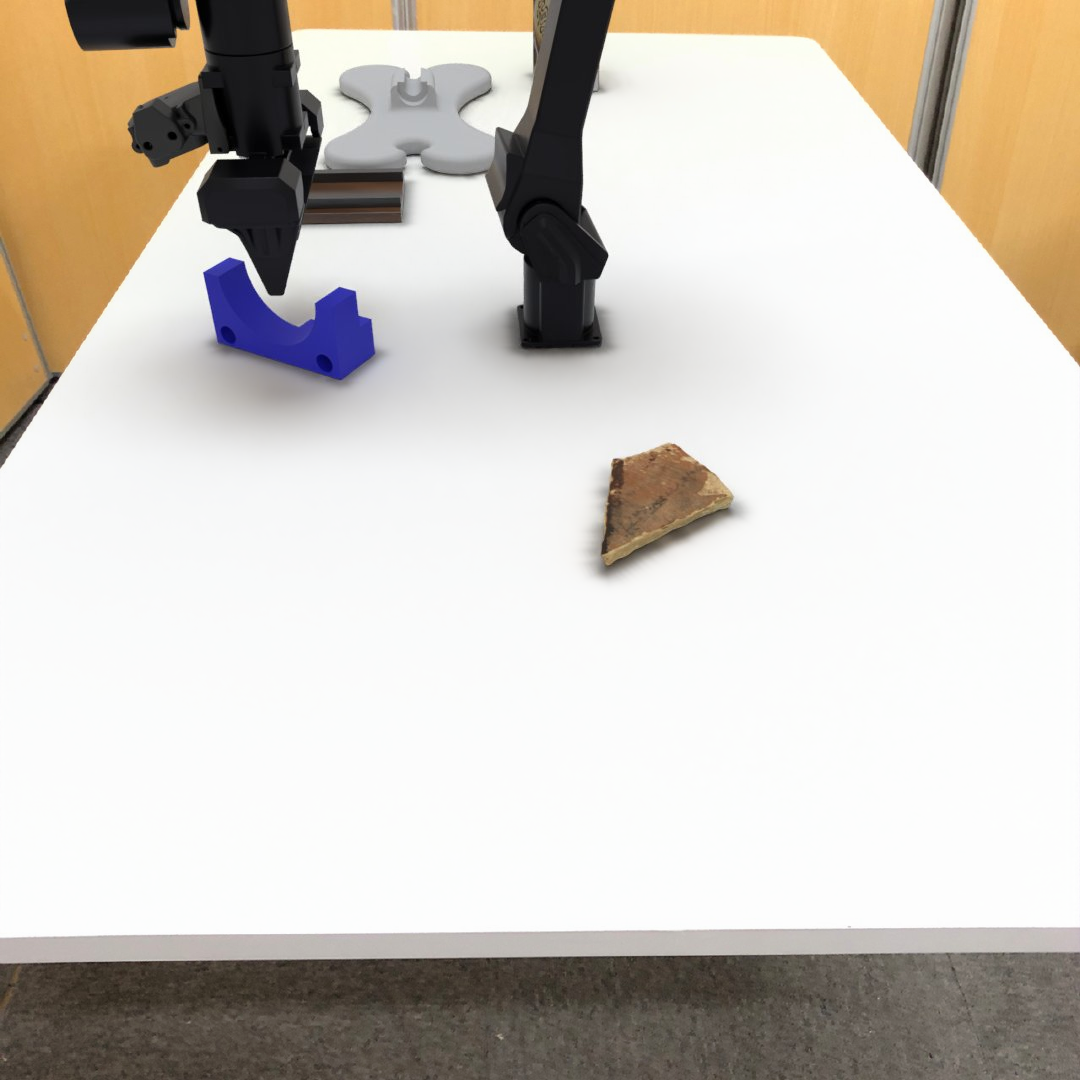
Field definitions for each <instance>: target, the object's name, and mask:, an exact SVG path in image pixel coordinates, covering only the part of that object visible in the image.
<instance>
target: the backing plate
mask: <svg viewBox="0 0 1080 1080" xmlns="http://www.w3.org/2000/svg"><path fill="white" fill-rule="evenodd" d="M405 177H406V176H405V172H404V167H402V168H384V169H331V168H329V169H315V172H314V176H313V180H312V184H311V189H310V193H309V196H308V201H307V205H306V209H305V213H304V218H303V222H302V225H304V224H305V225H307V224H308V225H309V224H353V223H354V224H356V223H357V224H358V223H359V224H360V223H361V224H362V223H400V222H403V210H404V209H403V208H404V198H405V187H406V186H405V185H406V178H405Z"/></svg>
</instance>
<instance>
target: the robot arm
mask: <svg viewBox="0 0 1080 1080" xmlns="http://www.w3.org/2000/svg"><path fill="white" fill-rule="evenodd" d="M194 1H195V6H196V12H197V17H198V23H199V28H200V33H201V34H200V35H201V40H202V44H203V51H204V56H205V62H206V63H205V65H204V67H203V68H202V70H201V71H199V74H198V75H197V81H194V82H193V81H192V82H190V83H188V84H185V85H183V86H180V87H178V88H176V89H174V90H170V91H169V92H166V93H164V94H161V95H159V96H156V97H154V98H151V99H149V100H148V101H145V102H144V103H142V104H139V105H137V106H136V108H135V109H134V110H133V112H132V116H131V117H130V119H129V120H128V122H127V131H128V133H129V134H130V137H131V140H132V141H131V149H132V150H133V151H134V152H135V153H137V154H138V155H139V154H144V156H145V157H146V158H147V159H148V161H149V163H150V164H151V166H152V167H153V168H155V169H156V168H161V167H163V166H167V165H168V164H169V163H170V162H171V160H172V159H175V158H177V157H180V156H182V155H185V154H187V153H190V152H192V151H194V150H197V149H199V148H202V147H204V146H205V145H207V144H208V150H209V154H210V155H229V154H230V152H235V156H237V157H238V158H219V159H218V158H217V159H216V160H215V161H214V162H213V164H212V165H211V166H210V167H209V169H207V170H206V172H205V173H204V176H203V179H202V181H201V182H200V185H199V187H198V189H197V191H196V198H197V203H198V207H199V212H200V217H201V222H203V223H206V224H208V225H212V226H213V227H215V228H216V229H220V230H227V231H228V232H230V233H232V234H234V235H235V236H236V237H238V239H239V240H240V242H241V244H242V245H243V247H244V249H245V251H246V253H247V255H248V257H249V259H250V261H251V262H252V265H253V267H254V268H255V271H256V273H257V275H258V277H259V279H260V281H261V283H262V285H263V287H264V289H265V292H266V293H267V294H268V296H269V297H282V296H284V295H285V293H286V289H287V285H288V280H289V275H290V271H291V267H292V264H293V263H292V262H293V258H294V254H295V251H296V246H297V241H298V240H299V238H300V235H301V230H302V226H303V224H302V222H303V218H304V213H305V209H306V205H307V201H308V196H309V193H310V189H311V184H312V180H313V176H314V172H315V170H316V167H317V164H318V159H319V154H320V150H321V146H322V143H323V137H322V135H323V132H324V129H325V124H324V116H323V115H324V114H323V107H322V101H321V100H320V99H319V98H318V97H317V96H315V95H314V94H313V93H312V92H310V90H309V89H300V84H299V77H298V74H299V71H300V68H301V66H302V63H301V55H300V50H299V49H294V42H293V33H292V26H291V25H292V24H291V19H290V11H289V3H288V0H194ZM63 2H64V7H65V11H66V15H67V18H68V19H67V20H68V22H69V26H70V29H71V32H72V34H73V36H74V39H75V41H76V43H77V45H78V47H79V48H80V50H82V52H101V51H127V50H130V51H131V50H154V49H155V50H157V49H175V48H176V47H177V39H178V30H179V31H190V29H191V15H190V14H191V13H190V6H189V5H190V4H189V0H63ZM615 2H616V0H550V4H549V8H548V13H547V18H546V22H545V27H544V32H543V36H542V41H541V46H540V50H539V55H538V60H537V64H536V69H535V74H533V79H532V83H531V88H530V93H529V97H528V102H527V106H526V109H525V111H524V113H523V115H522V117H521V119H520V120H519V122H518V123H517V125H516V126H515V129H514V130H513V131H511V130H508V129H505V128H503V127H500V126H497V127H495V131H494V137H495V151H494V158H493V161H492V164H491V167H490V168H489V169H488V170H486V172H485V174H484V179H485V181H486V185H487V187H488V191H489V194H490V197H491V200H492V204H493V206H494V209H495V211H496V212H497V216H498V219H499V222H500V224H501V225H500V226H501V228H502V232H503V234H504V237H505V239H506V240H507V241H508V243H509V244H510V246H511V247H512V248H513V249H515V251H517V252H518V253H520V254H522V255H523V270H522V271H523V303H522V304H518V305H517V306H516V313H517V314H516V315H517V323H518V324H517V325H518V334H519V344H520V346H521V347H522V348H527V349H528V348H529V349H530V348H560V347H561V348H562V347H563V348H565V347H567V348H568V347H596V346H601V345H602V344H603V335H602V331H601V327H600V326H601V325H600V322H599V318H598V313H597V308H596V305H595V304H596V303H595V302H596V280H599V279H600V278H601V276H602V274H603V271H604V270H605V269H604V268H605V267H606V264H607V261H608V259H609V252H608V251H607V249H606V246H605V244H604V242H603V240H602V237H601V236H600V233H599V232H598V230H597V228H596V225H595V224H594V222H593V219H592V217H591V215H590V213H589V211H588V209H587V208H586V206H584V205H583V193H584V162H583V161H584V159H583V157H584V156H583V152H584V151H583V150H584V149H583V134H584V127H585V123H586V119H587V117H588V116H587V115H588V111H589V107H590V104H591V99H592V96H593V92H594V91H593V88H594V84H595V80H596V76H597V72H598V68H599V69H600V64H601V59H602V55H603V52H604V48H605V44H606V39H607V36H608V31H609V27H610V23H611V18H612V14H613V12H614V6H615ZM309 129H310V133H311V134H307V133H308V131H309Z"/></svg>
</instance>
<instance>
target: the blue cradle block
mask: <svg viewBox="0 0 1080 1080" xmlns="http://www.w3.org/2000/svg"><path fill="white" fill-rule="evenodd" d="M202 274H203V279H204V284H205V289H206V293H207V298H208V299H207V300H208V303H209V307H210V313H211V317H212V321H213V326H214V327H213V328H214V331H215V335H216V336H215V337H216V340H217V343H218V344H222V345H225V346H229V347H231V348H234V349H238V350H241V351H244V352H248V353H251V354H254V355H258V356H261V357H264V358H267V359H270V360H274V361H278V362H281V363H284V364H288V365H290V366H294V367H297V368H300V369H304V370H307V371H310V372H314V373H317V374H320V375H323V376H325V377H326V376H327V377H329V378H333V379H337V380H339V381H342V380H343V379H344V378H346V377H347V376H348V375H350V374H351V373H352V372H353V371H355V370H356V369H357V368H358V367H360V366H361V365H362V364H364V363H365V362H367V360H369V359H370V358H372V357H373V356H374V355H375V354H376V349H375V340H374V329H373V320H372V318H369V317H365V316H361V315H359V306H358V297H357V291H356V290H353V289H349V288H345V287H342V286H338V287H337V288H335V289H333V290H332V291H331V292H329V293H328V294H325V296H323V297H322V298H320V299H319V300H318V301H316V302H314V319H313V318H310V319H308V320H306V321H305V322H304V323H303V324H301V325H299V326H298V325H295V324H292V323H290V322H288V321H287V320H285V319H283V318H282V317H281V316H279V315H278V314H277V313H276V312H274V310H272V309H271V308H270V306H268V305H267V303H266V302H265V301H264V300H263V299H262V298H261V296H260V295H259V293H258V292H257V290H256V288H255V286H254V284H253V283H252V280H251V279H250V276H249V273H248V270H247V267H246V262H245V260H241V259H238V258H234V257H229V256H228V257H227V258H225V259H224V260H222V261H220V262H218V263H217V264H214V265H213V266H211V267H209V268H207V269H206V270H204V271H203V272H202Z"/></svg>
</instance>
